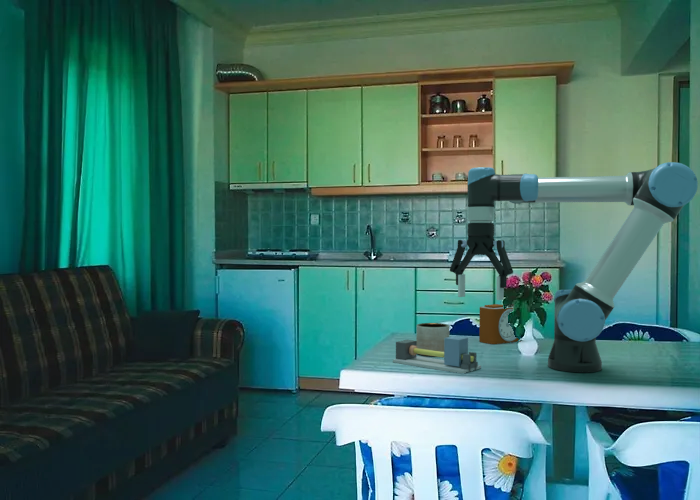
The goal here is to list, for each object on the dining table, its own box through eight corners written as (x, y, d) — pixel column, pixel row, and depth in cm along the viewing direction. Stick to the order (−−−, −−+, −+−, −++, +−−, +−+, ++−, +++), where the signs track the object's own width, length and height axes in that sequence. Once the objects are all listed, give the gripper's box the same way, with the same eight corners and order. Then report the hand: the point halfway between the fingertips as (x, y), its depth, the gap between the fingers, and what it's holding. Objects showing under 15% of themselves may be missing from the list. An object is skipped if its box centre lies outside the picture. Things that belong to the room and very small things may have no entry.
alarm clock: (493, 345, 234) (494, 307, 234) (476, 341, 241) (477, 304, 241) (522, 341, 242) (523, 304, 242) (505, 338, 249) (505, 302, 249)
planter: (448, 357, 210) (448, 327, 210) (414, 356, 212) (414, 326, 212) (450, 351, 221) (450, 323, 221) (417, 350, 223) (417, 322, 223)
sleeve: (467, 364, 194) (468, 337, 194) (459, 366, 190) (459, 339, 190) (453, 361, 197) (453, 336, 197) (444, 364, 193) (444, 338, 193)
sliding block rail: (481, 368, 194) (481, 347, 194) (463, 373, 186) (463, 352, 186) (410, 357, 210) (410, 338, 210) (391, 362, 203) (392, 342, 202)
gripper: (526, 221, 182) (525, 299, 183) (451, 222, 198) (451, 294, 199) (513, 221, 177) (512, 302, 177) (438, 222, 192) (437, 296, 193)
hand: (480, 298), depth 188 cm, fingers open, 12 cm apart
